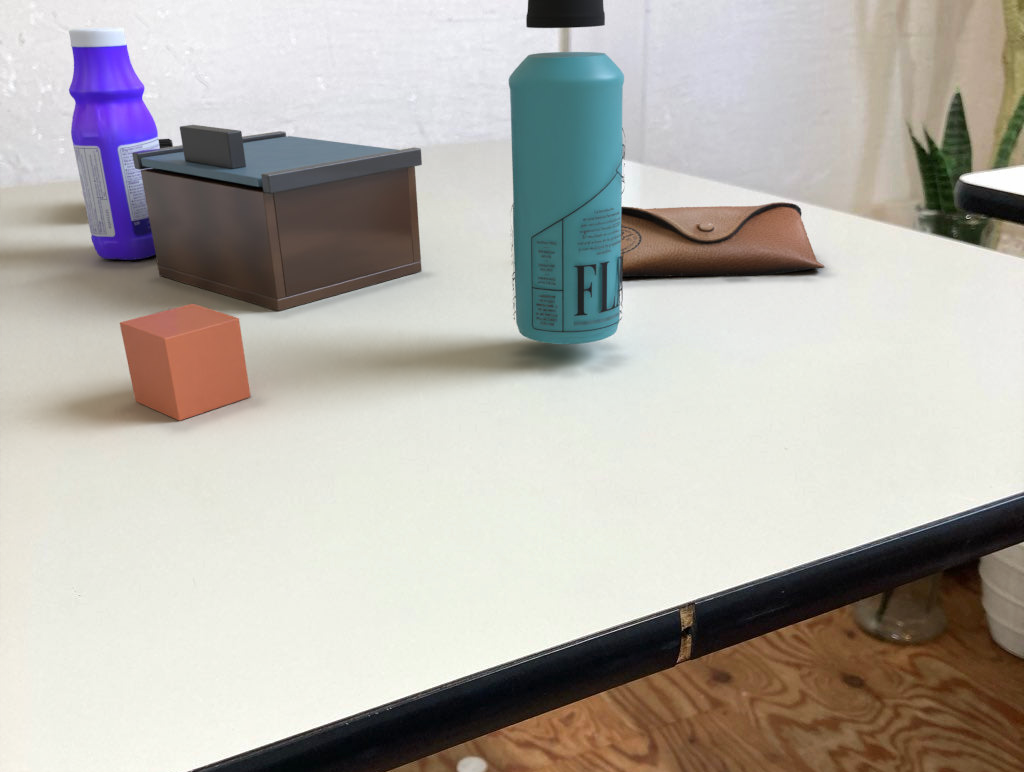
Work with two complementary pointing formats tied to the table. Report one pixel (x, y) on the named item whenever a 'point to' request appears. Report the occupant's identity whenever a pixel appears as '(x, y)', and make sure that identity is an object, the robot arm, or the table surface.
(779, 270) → the sunglasses case
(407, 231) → the box
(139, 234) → the bottle
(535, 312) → the beverage bottle
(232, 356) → the block
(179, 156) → the lid
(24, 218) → the table surface
